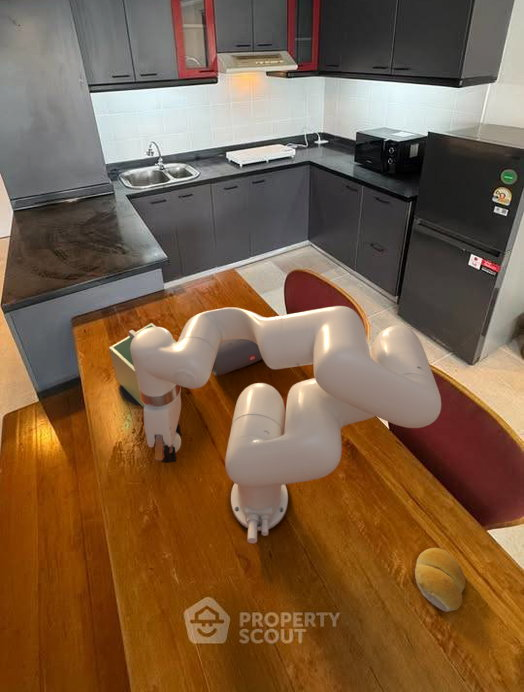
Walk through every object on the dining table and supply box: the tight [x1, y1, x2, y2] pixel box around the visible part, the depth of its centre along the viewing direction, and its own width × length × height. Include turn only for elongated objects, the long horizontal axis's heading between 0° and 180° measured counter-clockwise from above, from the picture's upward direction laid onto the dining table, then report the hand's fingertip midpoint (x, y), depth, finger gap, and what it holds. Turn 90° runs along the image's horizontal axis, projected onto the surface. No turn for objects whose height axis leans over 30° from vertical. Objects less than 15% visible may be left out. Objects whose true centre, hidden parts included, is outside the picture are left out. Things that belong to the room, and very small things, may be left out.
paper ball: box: [164, 432, 182, 453], centre depth 79 cm, size 4×4×4 cm
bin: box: [108, 322, 178, 408], centre depth 110 cm, size 14×14×14 cm
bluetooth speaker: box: [211, 339, 263, 377], centre depth 118 cm, size 23×9×10 cm, turn 118°
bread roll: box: [414, 547, 466, 613], centre depth 71 cm, size 8×9×4 cm
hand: (171, 448), depth 80 cm, fingers closed on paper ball, 4 cm apart
